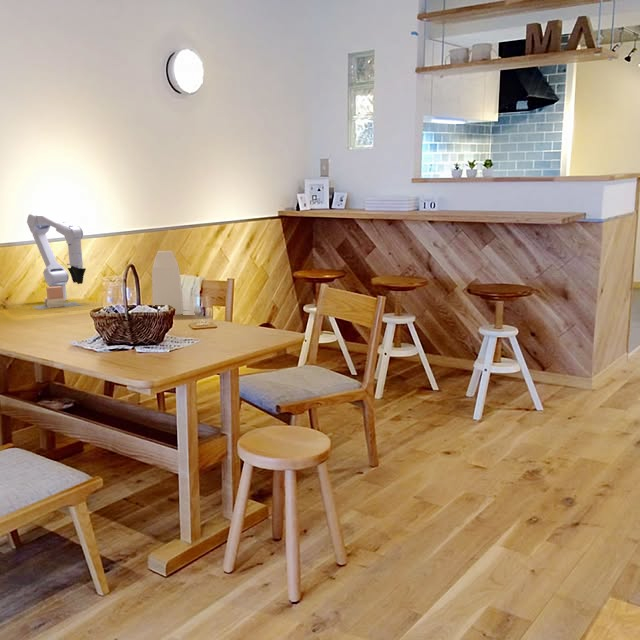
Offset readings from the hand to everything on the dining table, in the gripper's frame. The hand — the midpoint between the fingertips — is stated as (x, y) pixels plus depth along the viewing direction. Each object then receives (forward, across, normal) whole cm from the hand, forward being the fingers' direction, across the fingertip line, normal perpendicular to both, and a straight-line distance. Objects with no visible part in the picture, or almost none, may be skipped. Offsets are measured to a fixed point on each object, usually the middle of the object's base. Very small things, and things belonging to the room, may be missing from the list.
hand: (77, 283), depth 338 cm
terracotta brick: (+5, +5, -12) cm, 14 cm away
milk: (+11, +51, +24) cm, 57 cm away
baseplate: (+10, +4, -11) cm, 16 cm away
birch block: (+9, +5, -12) cm, 16 cm away
